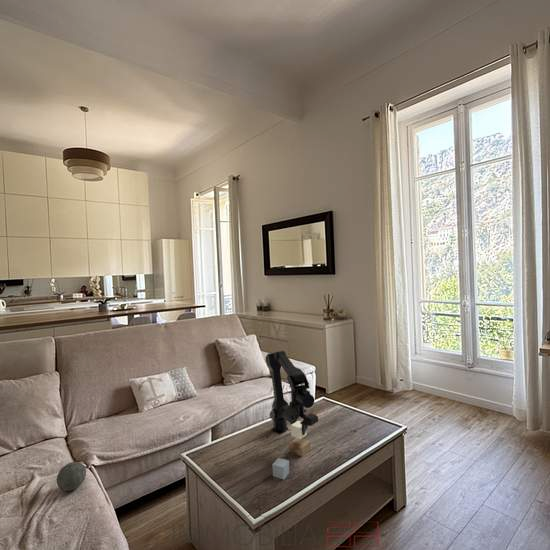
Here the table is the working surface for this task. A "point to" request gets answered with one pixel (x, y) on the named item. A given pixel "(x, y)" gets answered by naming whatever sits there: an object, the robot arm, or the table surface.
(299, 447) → the brown wooden block
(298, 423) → the cream cube
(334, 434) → the table surface
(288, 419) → the robot arm
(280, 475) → the slate cube
